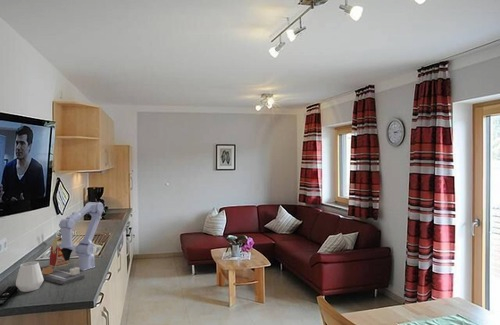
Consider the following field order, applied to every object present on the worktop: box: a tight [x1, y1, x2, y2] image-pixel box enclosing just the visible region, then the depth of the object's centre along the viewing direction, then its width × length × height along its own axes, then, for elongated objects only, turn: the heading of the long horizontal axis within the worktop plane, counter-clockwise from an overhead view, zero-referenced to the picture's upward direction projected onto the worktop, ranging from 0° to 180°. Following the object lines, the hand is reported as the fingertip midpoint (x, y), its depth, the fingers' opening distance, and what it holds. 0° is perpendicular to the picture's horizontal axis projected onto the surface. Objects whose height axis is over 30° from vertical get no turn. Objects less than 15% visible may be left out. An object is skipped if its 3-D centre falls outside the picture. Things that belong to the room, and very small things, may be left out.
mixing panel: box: [42, 267, 85, 286], centre depth 220 cm, size 13×26×2 cm, turn 60°
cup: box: [15, 261, 45, 293], centre depth 202 cm, size 13×13×14 cm
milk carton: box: [48, 235, 70, 269], centre depth 245 cm, size 9×9×20 cm
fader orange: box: [42, 265, 54, 275], centre depth 220 cm, size 4×3×4 cm, turn 150°
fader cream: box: [69, 266, 81, 276], centre depth 218 cm, size 4×3×4 cm, turn 150°
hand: (67, 260), depth 224 cm, fingers closed
